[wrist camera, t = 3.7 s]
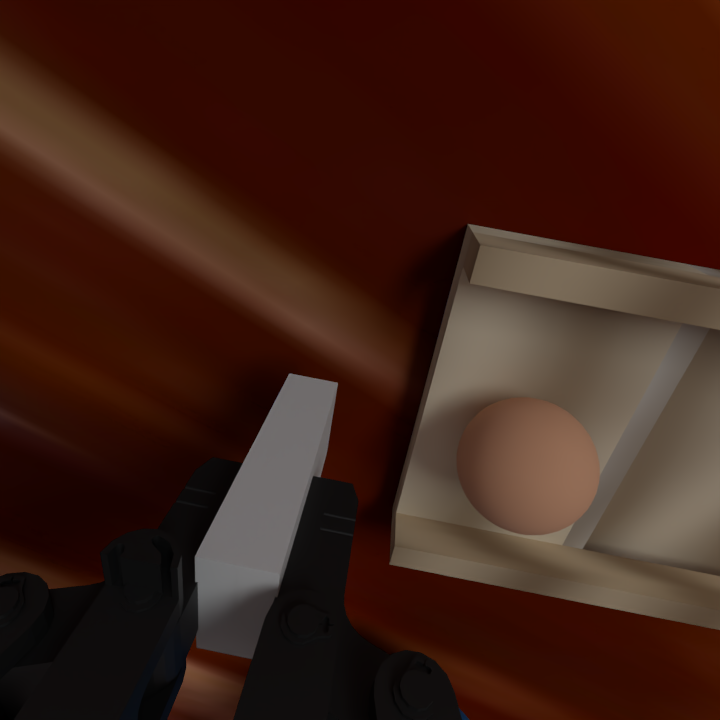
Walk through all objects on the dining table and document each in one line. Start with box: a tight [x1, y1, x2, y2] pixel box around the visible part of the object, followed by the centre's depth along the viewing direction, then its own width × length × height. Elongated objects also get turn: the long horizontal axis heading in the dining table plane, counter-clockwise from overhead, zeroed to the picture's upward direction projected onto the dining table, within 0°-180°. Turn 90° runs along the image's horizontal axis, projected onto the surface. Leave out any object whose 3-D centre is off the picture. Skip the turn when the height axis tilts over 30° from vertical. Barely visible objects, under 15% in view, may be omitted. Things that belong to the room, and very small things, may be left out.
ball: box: [456, 397, 600, 535], centre depth 13 cm, size 4×4×4 cm
